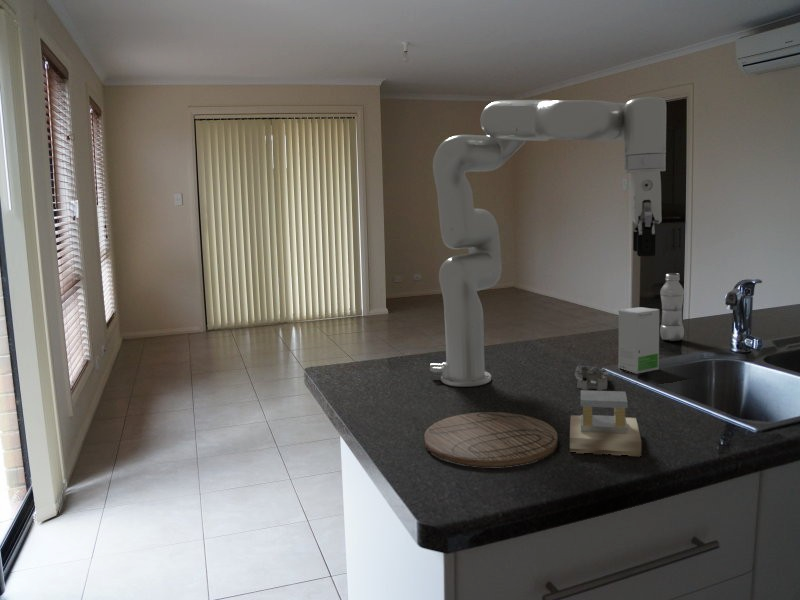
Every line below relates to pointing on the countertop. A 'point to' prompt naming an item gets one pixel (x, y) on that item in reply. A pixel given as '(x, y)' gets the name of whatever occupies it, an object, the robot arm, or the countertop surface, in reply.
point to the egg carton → (591, 378)
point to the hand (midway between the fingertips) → (643, 253)
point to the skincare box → (639, 339)
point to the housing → (600, 422)
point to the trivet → (491, 439)
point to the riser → (605, 440)
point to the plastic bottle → (672, 308)
